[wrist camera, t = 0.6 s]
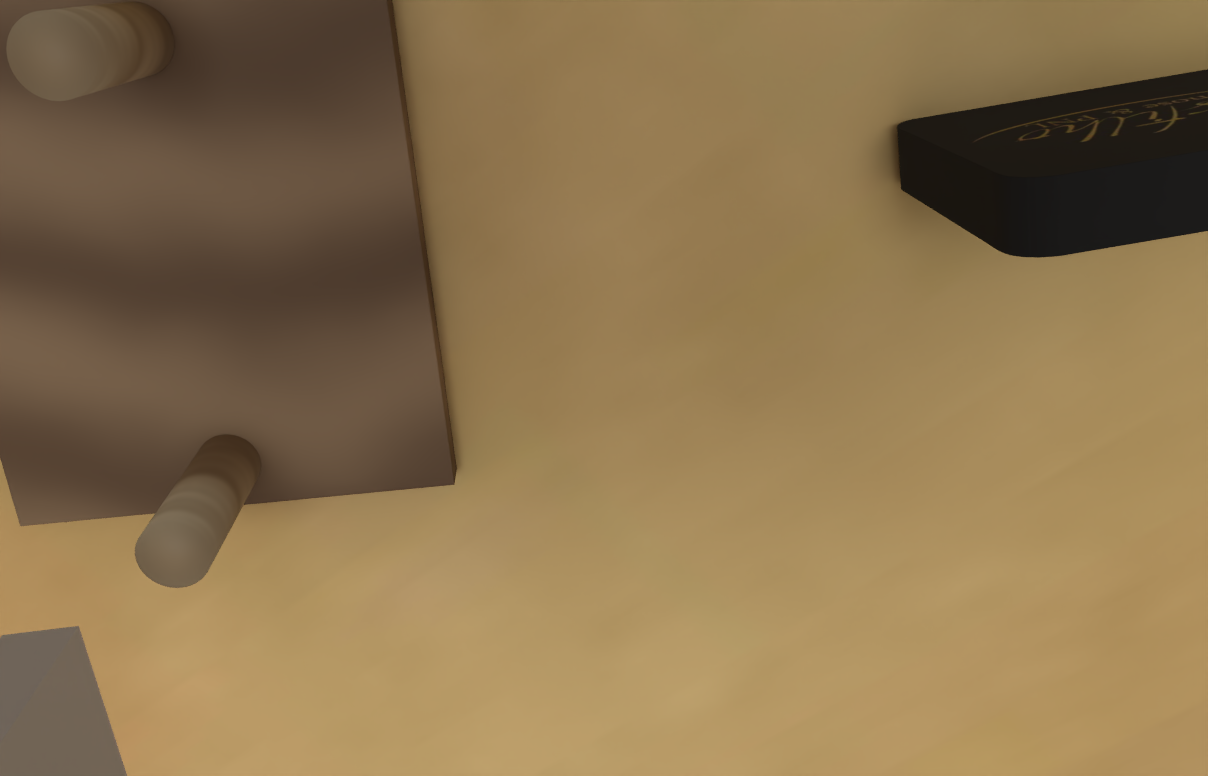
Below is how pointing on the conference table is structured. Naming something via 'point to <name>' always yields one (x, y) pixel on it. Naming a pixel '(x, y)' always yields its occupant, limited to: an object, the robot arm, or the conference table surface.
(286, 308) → the rack
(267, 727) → the conference table surface
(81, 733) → the robot arm
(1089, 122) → the nameplate
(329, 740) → the conference table surface
